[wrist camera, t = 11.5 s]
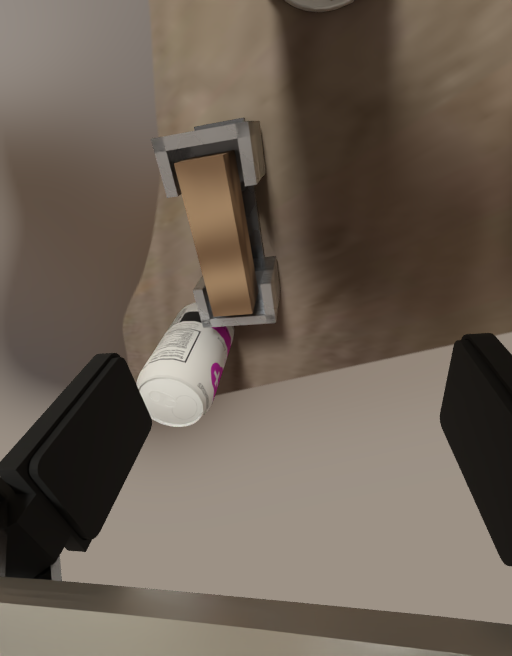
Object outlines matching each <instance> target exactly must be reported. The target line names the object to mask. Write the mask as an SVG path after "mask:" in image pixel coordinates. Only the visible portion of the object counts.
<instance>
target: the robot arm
mask: <svg viewBox="0 0 512 656" xmlns="http://www.w3.org/2000/svg"><path fill="white" fill-rule="evenodd" d="M284 1H286V2H287V3H289V4H290V5H292V6H294V7H296V8H299V9H302V10H305V11H312V12H325V11H331V10H336V9H338V8H341V7H343V6H345V5H348V4H350V3H352V2H353V1H355V0H332V1H330V0H284ZM440 423H441V427H442V429H443V431H444V433H445V436H446V438H447V440H448V443H449V445H450V447H451V449H452V451H453V454H454V456H455V458H456V460H457V462H458V464H459V467H460V469H461V471H462V474H463V476H464V478H465V480H466V483H467V485H468V487H469V489H470V492H471V494H472V496H473V498H474V500H475V503H476V505H477V507H478V509H479V511H480V514H481V516H482V518H483V520H484V523H485V525H486V527H487V529H488V532H489V534H490V536H491V538H492V540H493V543H494V545H495V547H496V549H497V551H498V554H499V556H500V558H501V559H502V561H503V562H504V564H506V565H507V566H512V355H511V354H510V352H509V351H508V350H507V349H506V348H505V347H504V346H503V345H502V343H501V342H500V341H499V340H498V339H497V338H496V337H495V336H494V335H493V334H491V333H482V334H466V335H464V336H463V337H462V339H461V340H457V341H456V342H455V343H454V347H453V353H452V357H451V362H450V367H449V372H448V377H447V382H446V387H445V392H444V397H443V402H442V407H441V412H440ZM151 426H152V419H151V416H150V414H149V412H148V409H147V407H146V405H145V403H144V401H143V398H142V396H141V394H140V392H139V389H138V387H137V385H136V383H135V381H134V378H133V376H132V374H131V372H130V370H129V367H128V365H127V363H126V361H125V360H124V358H121V357H120V356H119V355H118V354H117V353H106V354H97V355H95V356H94V357H93V359H92V360H91V361H90V362H89V363H88V364H87V365H86V366H85V367H84V368H83V370H82V371H81V372H80V373H79V374H78V375H77V376H76V377H75V378H74V380H73V381H72V382H71V383H70V384H69V385H68V386H67V387H66V389H65V390H64V391H63V392H62V393H61V394H60V395H59V396H58V398H57V399H56V400H55V401H54V402H53V403H52V404H51V406H50V407H49V408H48V409H47V410H46V411H45V412H44V413H43V415H42V416H41V417H40V418H39V419H38V420H37V421H36V422H35V423H34V425H33V426H32V427H31V428H30V429H29V430H28V431H27V433H26V434H25V435H24V436H23V437H22V438H21V439H20V440H19V441H18V443H17V444H16V445H15V446H14V447H13V448H12V449H11V451H10V452H9V453H8V454H7V455H6V456H5V457H4V458H3V459H2V461H1V462H0V656H512V625H509V624H500V623H492V622H484V621H475V620H466V619H458V618H448V617H441V616H430V615H420V614H410V613H399V612H389V611H379V610H369V609H359V608H358V609H357V608H348V607H337V606H328V605H318V604H308V603H298V602H287V601H276V600H266V599H254V598H244V597H233V596H222V595H212V594H200V593H190V592H179V591H168V590H157V589H146V588H135V587H124V586H112V585H101V584H89V583H78V582H66V581H62V577H61V566H60V554H61V552H62V550H63V548H64V547H65V548H66V549H67V550H69V551H83V552H86V550H87V548H88V546H89V544H90V542H91V540H92V539H94V538H95V537H96V536H97V535H98V534H99V532H100V531H101V529H102V526H103V524H104V523H105V521H106V518H107V516H108V514H109V512H110V510H111V508H112V506H113V504H114V502H115V500H116V498H117V496H118V494H119V492H120V490H121V488H122V486H123V484H124V482H125V480H126V478H127V476H128V474H129V472H130V470H131V468H132V466H133V464H134V462H135V460H136V458H137V456H138V454H139V452H140V450H141V448H142V446H143V444H144V442H145V440H146V438H147V436H148V434H149V432H150V430H151Z"/></svg>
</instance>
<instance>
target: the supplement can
mask: <svg viewBox="0 0 512 656" xmlns="http://www.w3.org/2000/svg"><path fill="white" fill-rule="evenodd" d="M233 338H234V326H222V327H207V328H203V325H202V322H201V318H200V315H199V311H198V307H197V304H196V303H192V304H190V305H187V306H185V307H184V308H183V309H182V310H181V311H180V312H179V314H178V315H177V317H176V318H175V320H174V321H173V323H172V324H171V326H170V327H169V329H168V331H167V332H166V334H165V335H164V337H163V338H162V340H161V341H160V343H159V344H158V346H157V348H156V349H155V351H154V352H153V354H152V355H151V357H150V358H149V360H148V361H147V363H146V364H145V366H144V368H143V369H142V371H141V372H140V374H139V377H138V380H137V387H138V389H139V392H140V394H141V396H142V398H143V401H144V403H145V405H146V407H147V409H148V412H149V414H150V416H151V419H153V420H155V421H157V422H159V423H161V424H164V425H168V426H172V427H185V426H189V425H192V424H193V423H195V422H197V421H198V420H199V419H200V417H201V416H202V415H204V414H205V413H207V412H208V410H209V409H210V406H211V405H212V403H213V400H214V397H215V394H216V391H217V387H218V384H219V381H220V378H221V375H222V372H223V369H224V366H225V363H226V360H227V357H228V353H229V350H230V347H231V344H232V341H233Z"/></svg>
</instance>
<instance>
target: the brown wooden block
mask: <svg viewBox="0 0 512 656" xmlns="http://www.w3.org/2000/svg"><path fill="white" fill-rule="evenodd" d="M174 166H175V170H176V174H177V178H178V182H179V185H180V189H181V193H182V197H183V201H184V205H185V209H186V212H187V216H188V220H189V224H190V228H191V232H192V236H193V239H194V243H195V247H196V251H197V255H198V259H199V263H200V266H201V270H202V274H203V278H204V282H205V286H206V290H207V293H208V297H209V301H210V305H211V309H212V313H213V317H218V316H231V315H244V314H253V310H254V306H255V302H256V298H257V295H258V287H257V281H256V275H255V269H254V263H253V257H252V251H251V245H250V239H249V233H248V227H247V221H246V215H245V209H244V204H243V198H242V192H241V186H240V180H239V174H238V168H237V162H236V156H235V150H232V151H226V152H220V153H215V154H209V155H203V156H197V157H192V158H189V159H186V160H183V161H180V162H177V163H174Z"/></svg>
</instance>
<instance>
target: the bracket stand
mask: <svg viewBox="0 0 512 656" xmlns="http://www.w3.org/2000/svg"><path fill="white" fill-rule="evenodd" d="M194 129H195V131H192V132H186V133H181V134H175V135H170V136H164V137H159V138H153V139H151V141H152V145H153V149H154V152H155V156H156V159H157V163H158V167H159V170H160V174H161V178H162V181H163V185H164V188H165V192H166V196H167V198H168V197H175V196H179V195H181V194H182V193H181V189H180V185H179V182H178V178H177V174H176V170H175V166H174V163H177V162H180V161H183V160H186V159H189V158H192V157H197V156H203V155H209V154H215V153H220V152H226V151H232V150H235V156H236V162H237V168H238V174H239V180H240V186H241V192H242V198H243V204H244V209H245V215H246V221H247V227H248V233H249V239H250V245H251V251H252V257H253V263H254V269H255V275H256V281H257V287H258V295H257V298H256V302H255V306H254V310H253V314H244V315H231V316H218V317H213V313H212V309H211V305H210V301H209V297H208V293H207V290H206V286H205V282H204V278H203V276H202V277H201V279H200V280H199V282H198V283H197V285H196V286H195V288H194V289H193V293H194V297H195V300H196V304H197V307H198V311H199V315H200V318H201V322H202V325H203V328H207V327H222V326H237V325H253V324H268V323H276V319H277V312H278V304H279V297H280V284H279V276H278V267H277V259H276V256H272V257H264V250H263V243H262V236H261V229H260V222H259V215H258V208H257V201H256V194H255V187H254V185H257V184H258V182H259V181H260V179H261V178H262V177H263V175H264V174H265V173H266V170H265V162H264V154H263V146H262V138H261V130H260V121H246V122H245V118H239V119H234V120H229V121H223V122H218V123H212V124H207V125H202V126H196V127H194Z"/></svg>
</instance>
